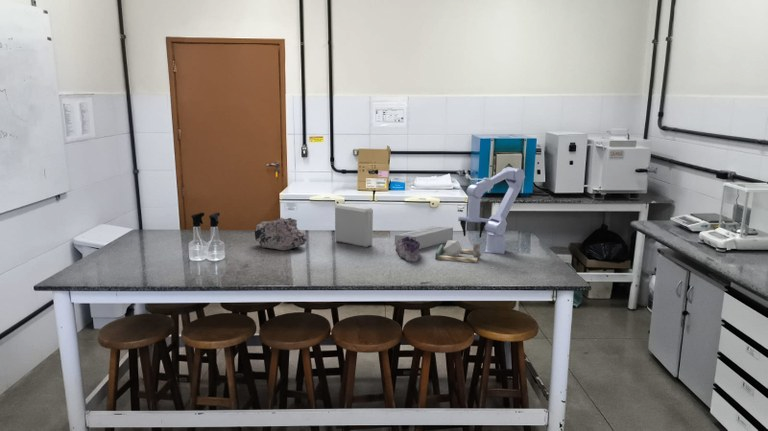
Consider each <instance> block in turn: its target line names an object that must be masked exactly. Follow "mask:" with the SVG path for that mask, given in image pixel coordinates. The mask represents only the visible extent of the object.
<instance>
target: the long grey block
mask: <svg viewBox="0 0 768 431" xmlns="http://www.w3.org/2000/svg"><path fill="white" fill-rule="evenodd" d="M453 231H454V227H446V226H442V227H441V226H429V227H424V228H419V229H416V230H411V231H408V232H403V233H399V234H395V235H394V245H395V246H396V243H397V241H398V239H400V238H401V239H403V238H405V237H409V238H413V239H414V240H416V241H419V243H420V247H419V250H421V249H424V248H428V247H432V246H435V245H439V244H440V245H441V244H445V243H447V241H448V240H454V239H453V237H454V236H453V234H454V232H453Z"/></svg>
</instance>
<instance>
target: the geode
mask: <svg viewBox="0 0 768 431" xmlns="http://www.w3.org/2000/svg"><path fill="white" fill-rule="evenodd" d="M419 247H420V243H419V241H416V240H414V239H413V238H409V237H405V238H403V239H401V238H400V239H398V241H397V243H396V245H395V252H396V253H398V256H399V258H400V259H405V261H406V262H408V263H416V262H418V261H420V260H421V257H420V249H419Z"/></svg>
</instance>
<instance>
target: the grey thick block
mask: <svg viewBox="0 0 768 431" xmlns="http://www.w3.org/2000/svg"><path fill="white" fill-rule="evenodd" d="M373 212H374V210H373V209H372V207H368V206H367V207H366V206H360V205H353V204H347V203H338V204H336V205H335V206H334V217H335V218H334V228H335V229H334V240H335V241H336V242H337V243H341V242H342V243H341V244H346V243H347V244H348V245H351V244H352V246H356V245H358V247H361V246H363V247H362V248H368V246H369V247H371V246H372V245H373V228H374V227H373V225H374V224H373V223H374V221H373V219H374V215H373V214H374V213H373ZM347 244H346V245H347Z"/></svg>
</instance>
